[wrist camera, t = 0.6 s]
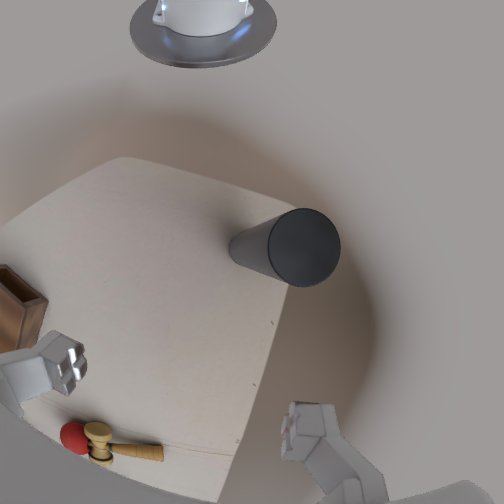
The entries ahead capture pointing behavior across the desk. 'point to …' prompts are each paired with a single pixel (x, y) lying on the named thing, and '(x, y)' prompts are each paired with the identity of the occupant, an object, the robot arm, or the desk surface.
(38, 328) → the shelf
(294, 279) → the cylinder
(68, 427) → the kendama
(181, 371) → the desk surface
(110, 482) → the robot arm
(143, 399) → the desk surface
